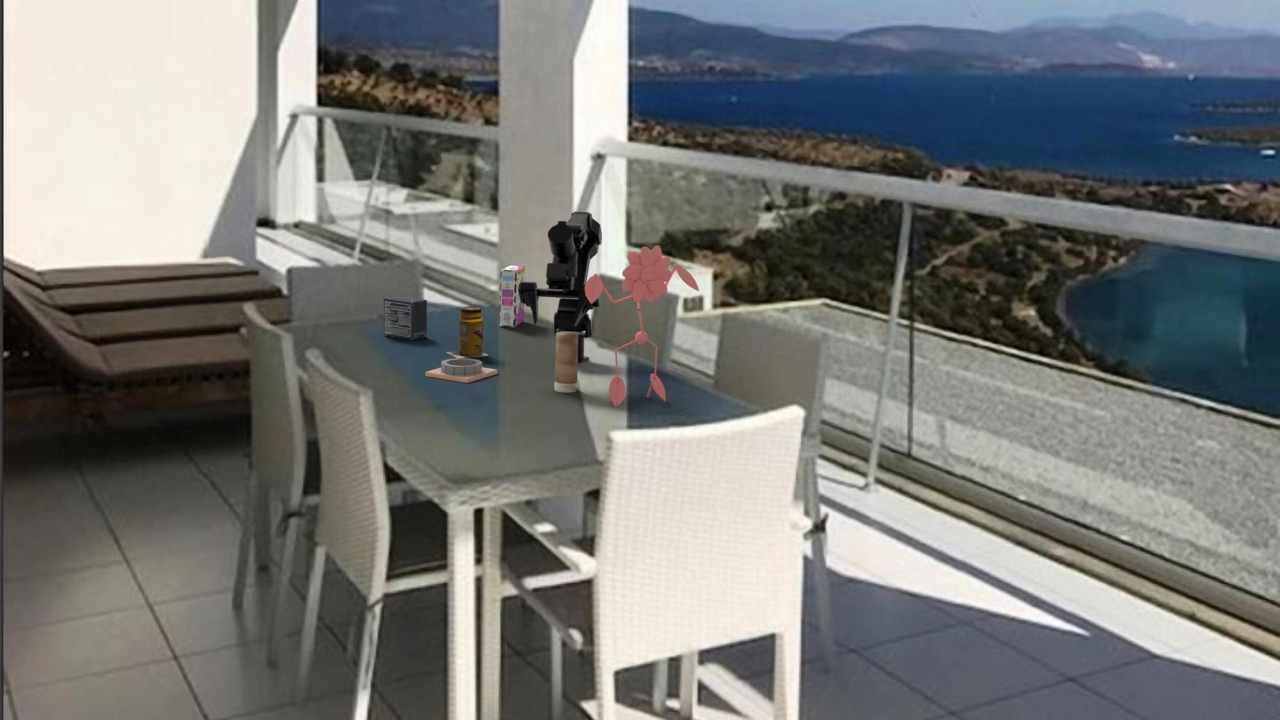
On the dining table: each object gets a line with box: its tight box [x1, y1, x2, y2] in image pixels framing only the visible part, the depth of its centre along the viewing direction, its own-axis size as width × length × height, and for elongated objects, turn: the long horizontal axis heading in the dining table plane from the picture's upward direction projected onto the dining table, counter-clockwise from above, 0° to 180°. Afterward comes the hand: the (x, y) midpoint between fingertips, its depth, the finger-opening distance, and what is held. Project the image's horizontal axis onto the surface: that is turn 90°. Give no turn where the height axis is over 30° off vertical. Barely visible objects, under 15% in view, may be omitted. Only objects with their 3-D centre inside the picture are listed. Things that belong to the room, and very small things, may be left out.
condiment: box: [446, 306, 489, 359], centre depth 326 cm, size 7×8×12 cm
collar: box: [424, 357, 498, 384], centre depth 304 cm, size 12×12×3 cm
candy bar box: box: [498, 265, 526, 329], centre depth 369 cm, size 11×5×16 cm, turn 172°
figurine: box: [585, 245, 700, 408], centre depth 275 cm, size 15×26×35 cm, turn 118°
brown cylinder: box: [554, 331, 579, 393], centre depth 291 cm, size 5×5×13 cm
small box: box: [383, 295, 428, 341], centre depth 347 cm, size 11×6×10 cm, turn 58°
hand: (554, 324), depth 297 cm, fingers open, 9 cm apart
